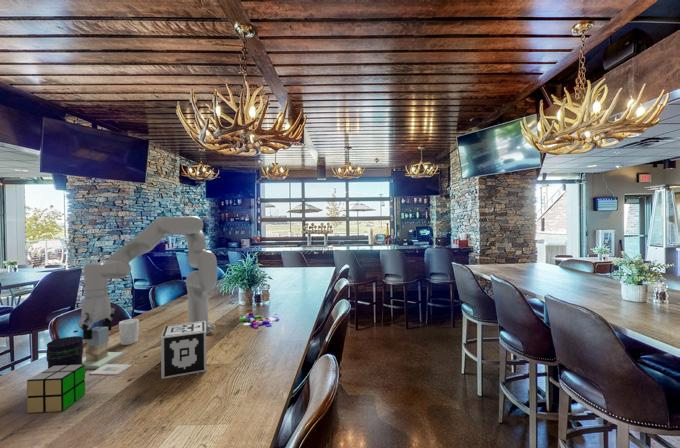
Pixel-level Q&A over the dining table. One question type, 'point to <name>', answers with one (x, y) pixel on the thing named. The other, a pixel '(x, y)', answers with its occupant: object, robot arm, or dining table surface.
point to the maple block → (96, 352)
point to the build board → (102, 360)
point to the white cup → (129, 331)
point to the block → (183, 349)
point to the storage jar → (65, 351)
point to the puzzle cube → (55, 388)
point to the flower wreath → (258, 320)
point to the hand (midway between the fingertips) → (98, 334)
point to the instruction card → (111, 369)
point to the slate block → (98, 336)
